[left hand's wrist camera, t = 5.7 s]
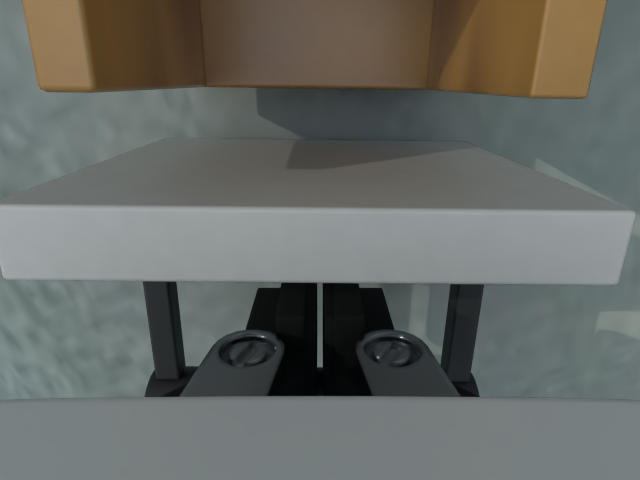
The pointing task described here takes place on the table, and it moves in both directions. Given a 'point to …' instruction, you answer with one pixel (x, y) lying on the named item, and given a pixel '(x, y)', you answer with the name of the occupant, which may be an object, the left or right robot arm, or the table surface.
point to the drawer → (314, 159)
